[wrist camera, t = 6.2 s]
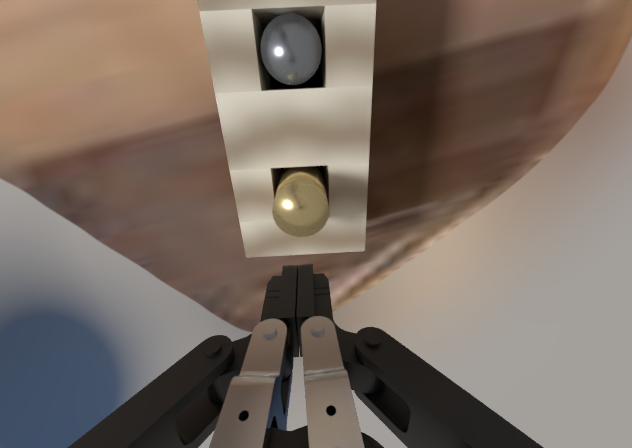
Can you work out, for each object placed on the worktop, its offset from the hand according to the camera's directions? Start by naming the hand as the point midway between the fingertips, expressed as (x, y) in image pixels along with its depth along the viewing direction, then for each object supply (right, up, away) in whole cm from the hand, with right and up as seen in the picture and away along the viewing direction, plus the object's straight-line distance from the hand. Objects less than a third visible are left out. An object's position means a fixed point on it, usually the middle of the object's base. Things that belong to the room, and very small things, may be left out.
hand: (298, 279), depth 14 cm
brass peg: (-1, +7, +14) cm, 16 cm away
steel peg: (-1, +19, +13) cm, 23 cm away
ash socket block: (-1, +14, +15) cm, 21 cm away
